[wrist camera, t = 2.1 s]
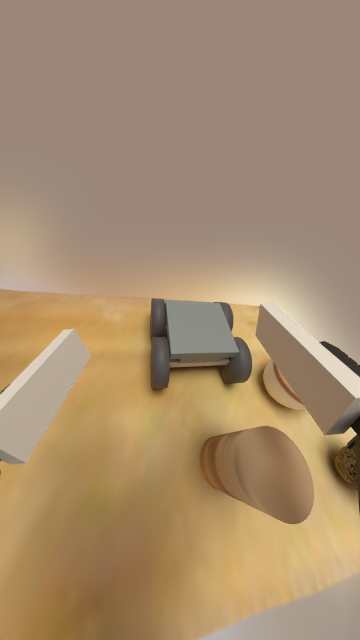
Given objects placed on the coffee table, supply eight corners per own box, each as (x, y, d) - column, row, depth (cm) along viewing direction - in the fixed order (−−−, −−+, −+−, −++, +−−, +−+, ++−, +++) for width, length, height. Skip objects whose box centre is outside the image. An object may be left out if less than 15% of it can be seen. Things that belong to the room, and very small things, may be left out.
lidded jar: (310, 415, 32) (358, 405, 25) (264, 415, 31) (301, 404, 24) (286, 365, 39) (319, 347, 32) (247, 363, 38) (273, 342, 30)
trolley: (151, 395, 29) (155, 377, 22) (150, 316, 41) (152, 287, 34) (234, 388, 33) (261, 371, 26) (211, 318, 45) (225, 293, 37)
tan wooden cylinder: (205, 495, 22) (264, 535, 12) (196, 439, 26) (234, 430, 16) (245, 485, 24) (329, 512, 13) (231, 433, 28) (287, 422, 17)
